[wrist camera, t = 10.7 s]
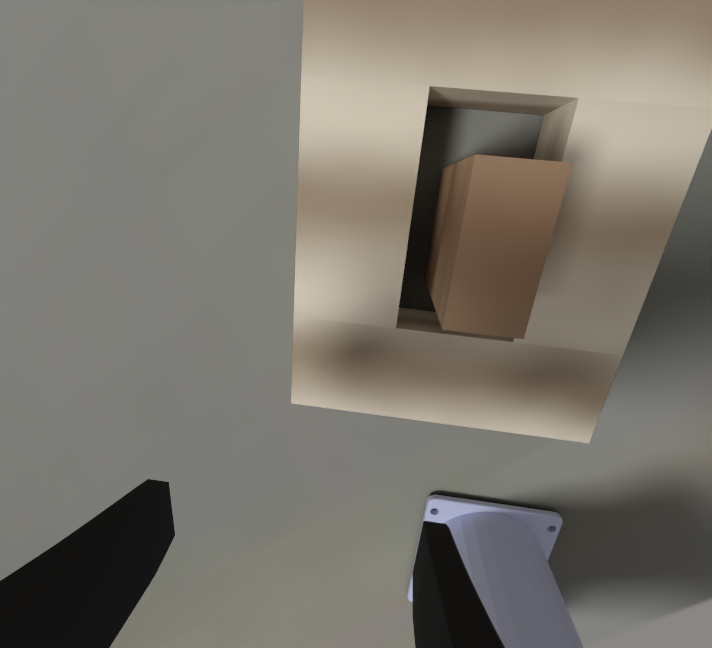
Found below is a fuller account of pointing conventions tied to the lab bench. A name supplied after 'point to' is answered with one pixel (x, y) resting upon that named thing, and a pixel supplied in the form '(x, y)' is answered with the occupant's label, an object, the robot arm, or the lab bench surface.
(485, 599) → the robot arm
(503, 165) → the walnut bar
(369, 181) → the slot plate
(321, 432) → the lab bench surface
